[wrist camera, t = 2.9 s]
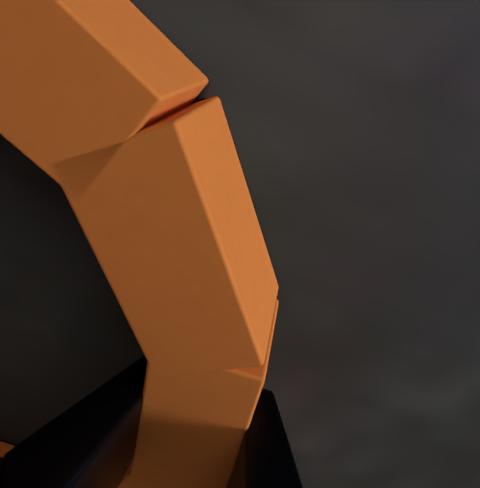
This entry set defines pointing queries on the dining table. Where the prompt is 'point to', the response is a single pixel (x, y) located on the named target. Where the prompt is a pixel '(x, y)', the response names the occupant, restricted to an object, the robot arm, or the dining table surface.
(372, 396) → the dining table surface
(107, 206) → the ring
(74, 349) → the dining table surface
